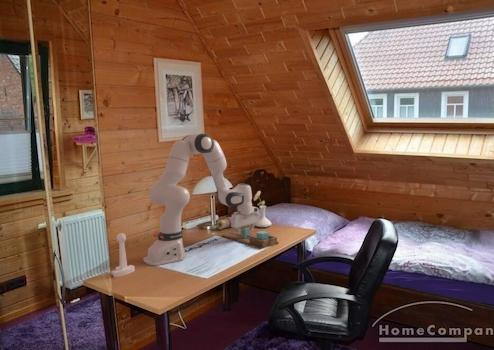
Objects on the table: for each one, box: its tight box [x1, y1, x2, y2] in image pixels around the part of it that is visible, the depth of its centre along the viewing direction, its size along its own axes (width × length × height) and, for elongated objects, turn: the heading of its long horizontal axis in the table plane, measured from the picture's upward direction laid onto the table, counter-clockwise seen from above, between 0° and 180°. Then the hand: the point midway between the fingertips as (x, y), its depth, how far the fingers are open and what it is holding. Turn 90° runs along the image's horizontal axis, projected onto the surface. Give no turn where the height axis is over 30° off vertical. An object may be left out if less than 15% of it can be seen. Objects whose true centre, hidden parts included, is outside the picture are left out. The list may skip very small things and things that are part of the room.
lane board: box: [221, 230, 279, 250], centre depth 251 cm, size 14×36×4 cm, turn 41°
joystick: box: [110, 232, 136, 278], centre depth 202 cm, size 11×8×20 cm
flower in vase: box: [253, 190, 273, 228], centre depth 280 cm, size 13×11×25 cm
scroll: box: [216, 216, 233, 230], centre depth 282 cm, size 8×8×20 cm
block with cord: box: [240, 226, 270, 241], centre depth 247 cm, size 5×19×6 cm, turn 41°
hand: (245, 232), depth 253 cm, fingers open, 8 cm apart
